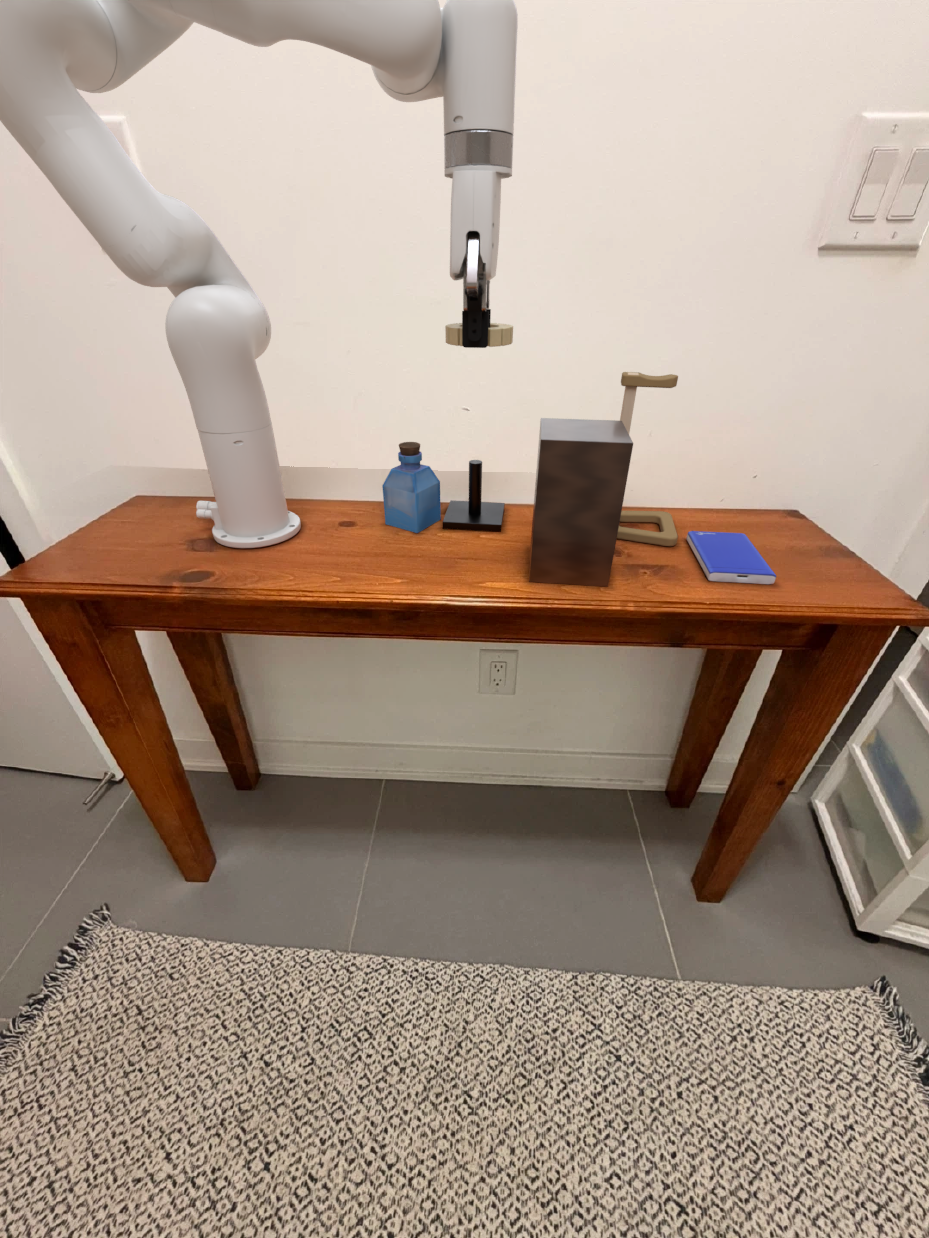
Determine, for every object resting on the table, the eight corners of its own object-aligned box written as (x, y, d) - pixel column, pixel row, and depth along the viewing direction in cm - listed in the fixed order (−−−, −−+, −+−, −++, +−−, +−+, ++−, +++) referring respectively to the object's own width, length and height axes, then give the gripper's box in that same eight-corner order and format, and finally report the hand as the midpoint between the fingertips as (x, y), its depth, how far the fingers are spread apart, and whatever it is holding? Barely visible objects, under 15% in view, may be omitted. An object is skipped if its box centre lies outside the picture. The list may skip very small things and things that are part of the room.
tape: (439, 345, 69) (438, 328, 68) (453, 337, 77) (453, 321, 76) (507, 348, 68) (508, 330, 67) (515, 339, 75) (516, 323, 74)
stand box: (528, 582, 70) (540, 439, 60) (530, 548, 78) (540, 417, 68) (608, 587, 69) (633, 443, 59) (601, 551, 77) (622, 420, 67)
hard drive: (688, 530, 79) (710, 570, 69) (746, 533, 79) (777, 574, 68) (685, 540, 80) (707, 581, 70) (743, 542, 80) (773, 585, 69)
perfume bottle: (440, 519, 86) (439, 443, 80) (417, 533, 82) (413, 453, 75) (409, 511, 89) (405, 436, 82) (385, 524, 85) (379, 446, 78)
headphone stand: (677, 547, 78) (717, 384, 66) (599, 541, 80) (624, 380, 68) (669, 519, 87) (703, 370, 75) (599, 514, 88) (621, 367, 76)
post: (442, 529, 83) (441, 470, 78) (450, 507, 91) (450, 451, 86) (501, 532, 82) (503, 472, 77) (504, 509, 90) (507, 454, 85)
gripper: (454, 170, 67) (455, 338, 77) (432, 147, 53) (437, 354, 63) (515, 169, 66) (508, 339, 76) (508, 146, 53) (501, 355, 63)
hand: (476, 344), depth 70 cm, fingers closed on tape, 2 cm apart
